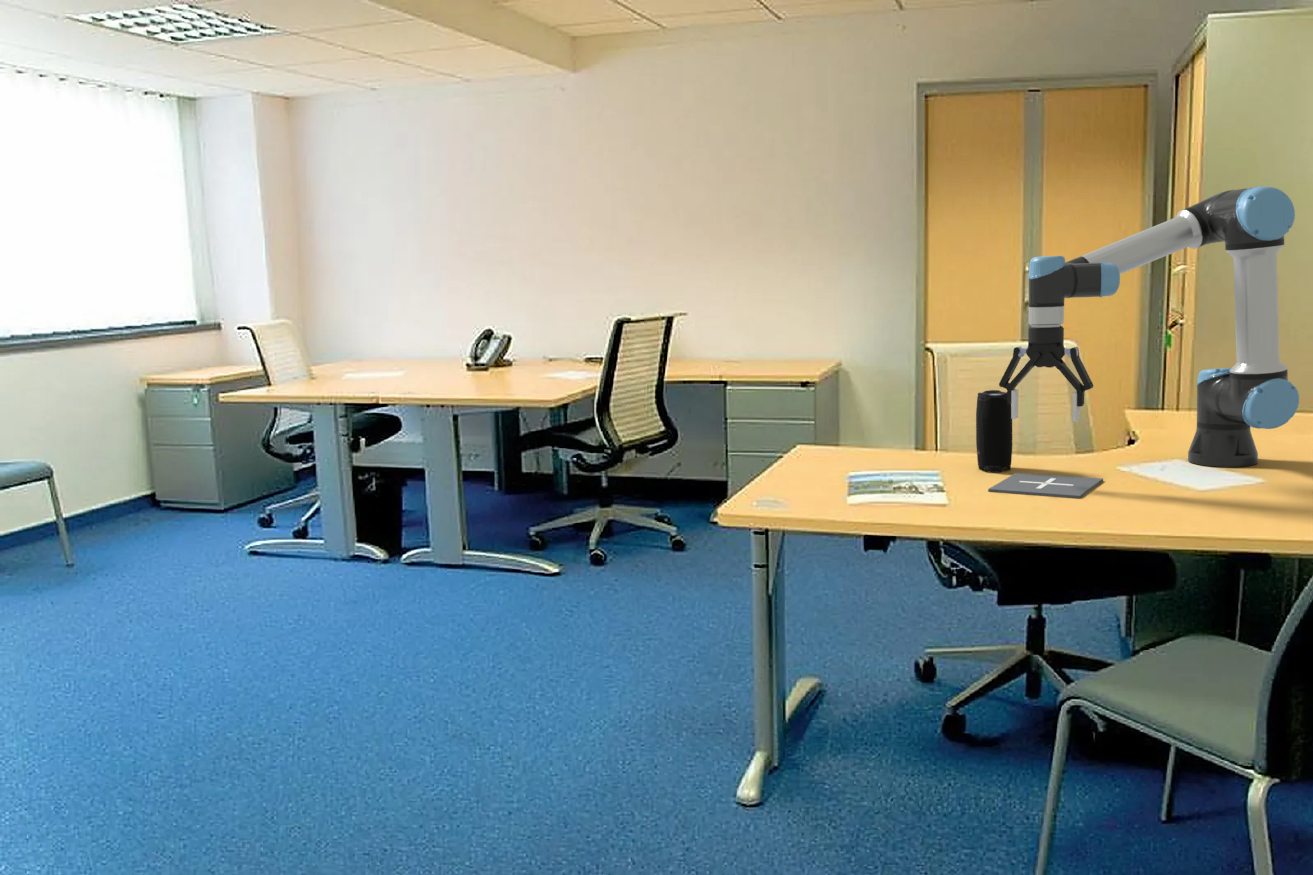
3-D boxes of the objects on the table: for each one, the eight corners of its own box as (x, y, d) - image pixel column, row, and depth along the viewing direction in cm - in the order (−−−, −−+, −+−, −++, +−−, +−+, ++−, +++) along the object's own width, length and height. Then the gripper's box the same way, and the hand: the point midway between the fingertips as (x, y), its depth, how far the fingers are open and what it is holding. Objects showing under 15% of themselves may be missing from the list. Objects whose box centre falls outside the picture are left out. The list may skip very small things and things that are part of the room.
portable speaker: (978, 473, 267) (977, 394, 264) (975, 466, 277) (974, 390, 274) (1014, 472, 266) (1014, 393, 263) (1010, 465, 275) (1009, 388, 272)
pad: (1103, 480, 251) (1103, 478, 251) (1079, 498, 235) (1079, 495, 235) (1016, 475, 263) (1016, 472, 263) (988, 491, 247) (988, 488, 247)
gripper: (1108, 324, 239) (1106, 419, 243) (996, 324, 254) (995, 414, 257) (1100, 326, 233) (1098, 424, 237) (985, 327, 248) (984, 419, 251)
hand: (1044, 419), depth 247 cm, fingers open, 13 cm apart
